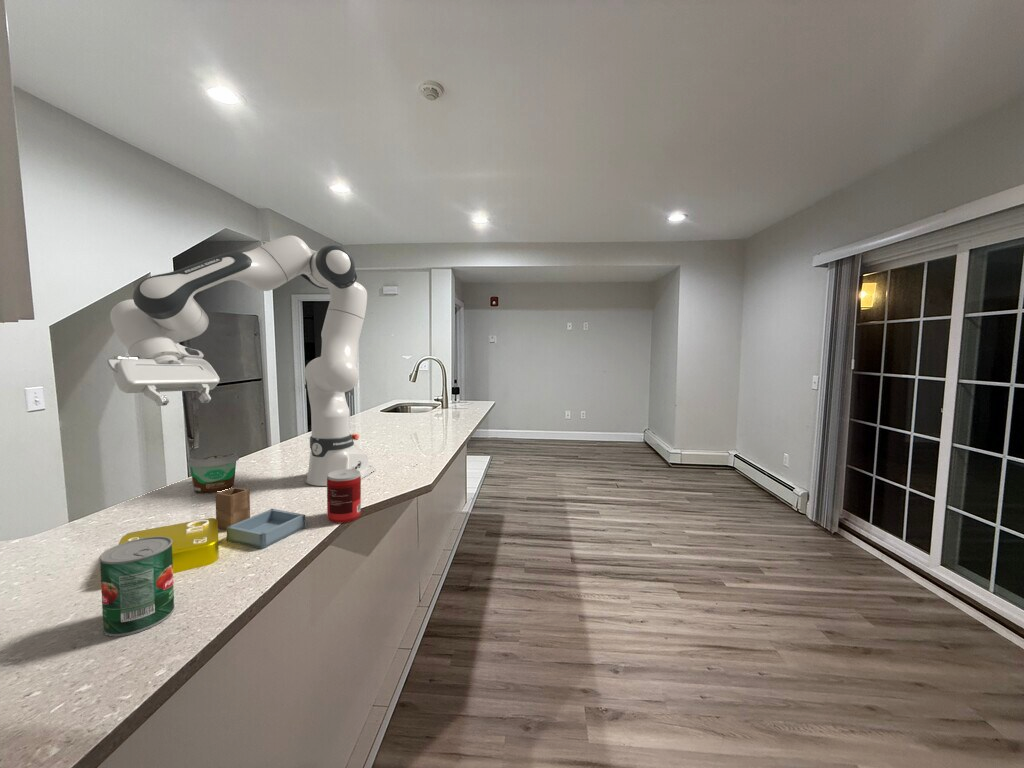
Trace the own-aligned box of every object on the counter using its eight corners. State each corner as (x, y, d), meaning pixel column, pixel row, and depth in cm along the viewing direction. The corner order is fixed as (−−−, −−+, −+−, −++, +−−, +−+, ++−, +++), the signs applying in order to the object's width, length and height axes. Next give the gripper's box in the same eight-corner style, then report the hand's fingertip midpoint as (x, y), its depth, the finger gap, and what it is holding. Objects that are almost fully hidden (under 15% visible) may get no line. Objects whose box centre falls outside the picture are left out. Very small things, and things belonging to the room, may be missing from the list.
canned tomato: (91, 626, 58) (87, 553, 57) (157, 597, 65) (155, 532, 64) (119, 644, 54) (116, 567, 54) (186, 610, 62) (183, 542, 61)
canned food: (352, 508, 103) (352, 467, 103) (366, 517, 98) (366, 474, 97) (322, 516, 98) (321, 472, 97) (334, 526, 92) (334, 480, 92)
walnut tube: (235, 519, 95) (235, 487, 94) (250, 522, 93) (249, 489, 93) (216, 527, 90) (215, 493, 90) (231, 530, 89) (230, 496, 88)
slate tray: (272, 520, 95) (272, 508, 94) (305, 527, 92) (305, 514, 91) (226, 540, 84) (226, 527, 84) (262, 549, 81) (262, 535, 81)
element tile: (123, 554, 79) (122, 530, 78) (217, 535, 88) (217, 513, 87) (108, 591, 67) (107, 563, 66) (219, 564, 76) (218, 540, 75)
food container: (194, 498, 107) (193, 462, 106) (187, 493, 111) (186, 458, 110) (246, 487, 117) (245, 454, 116) (238, 482, 121) (237, 450, 120)
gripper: (111, 346, 85) (141, 396, 82) (207, 351, 104) (234, 392, 102) (96, 365, 86) (126, 415, 84) (194, 367, 106) (220, 407, 104)
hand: (186, 402), depth 93 cm, fingers open, 8 cm apart
